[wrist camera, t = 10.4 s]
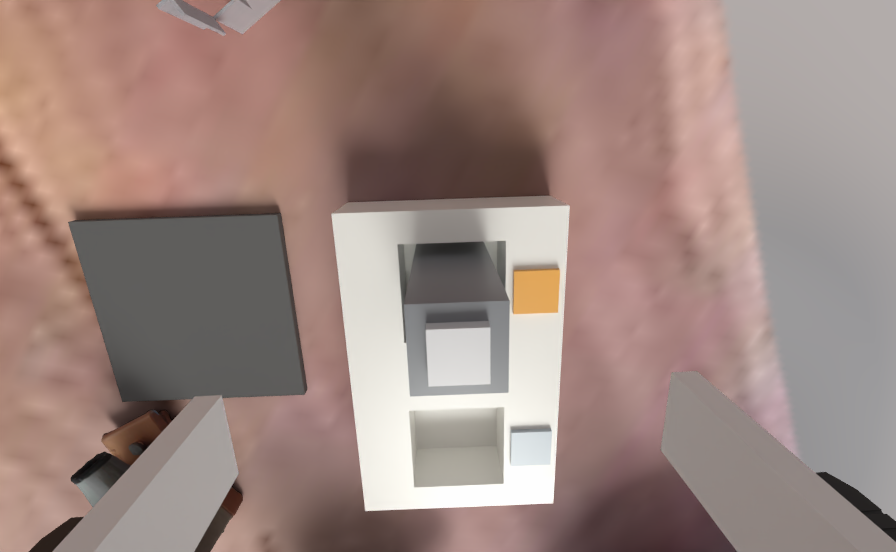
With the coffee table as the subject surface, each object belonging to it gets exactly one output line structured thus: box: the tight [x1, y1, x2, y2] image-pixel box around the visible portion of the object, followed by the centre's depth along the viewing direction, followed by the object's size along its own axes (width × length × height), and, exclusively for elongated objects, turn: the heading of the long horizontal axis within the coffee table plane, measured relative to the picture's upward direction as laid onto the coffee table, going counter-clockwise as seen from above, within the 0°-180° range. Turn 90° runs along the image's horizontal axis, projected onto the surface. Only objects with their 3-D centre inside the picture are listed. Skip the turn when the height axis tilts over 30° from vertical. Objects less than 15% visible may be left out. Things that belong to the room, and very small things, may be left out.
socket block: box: [332, 196, 570, 511], centre depth 26 cm, size 12×19×4 cm, turn 2°
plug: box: [404, 241, 510, 397], centre depth 21 cm, size 4×4×11 cm
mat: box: [68, 213, 307, 402], centre depth 27 cm, size 12×12×1 cm
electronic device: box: [71, 410, 243, 552], centre depth 27 cm, size 4×10×8 cm, turn 29°
